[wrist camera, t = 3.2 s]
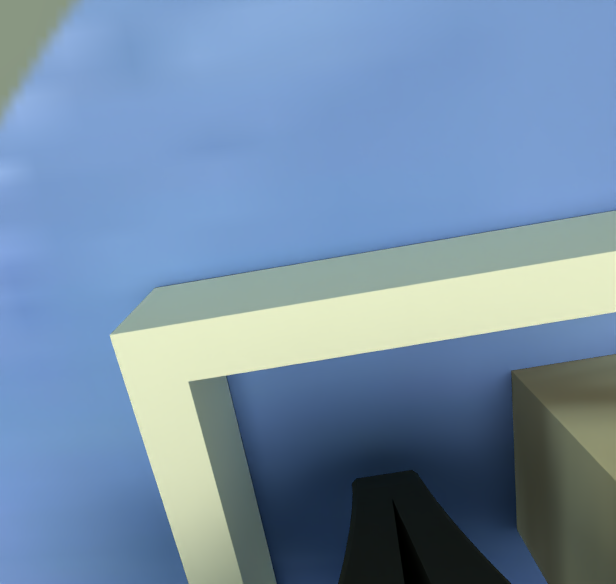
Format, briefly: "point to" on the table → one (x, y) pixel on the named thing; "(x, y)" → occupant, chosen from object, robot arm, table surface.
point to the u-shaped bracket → (324, 352)
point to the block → (567, 468)
